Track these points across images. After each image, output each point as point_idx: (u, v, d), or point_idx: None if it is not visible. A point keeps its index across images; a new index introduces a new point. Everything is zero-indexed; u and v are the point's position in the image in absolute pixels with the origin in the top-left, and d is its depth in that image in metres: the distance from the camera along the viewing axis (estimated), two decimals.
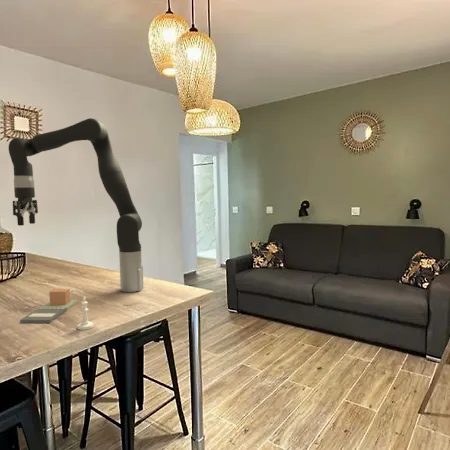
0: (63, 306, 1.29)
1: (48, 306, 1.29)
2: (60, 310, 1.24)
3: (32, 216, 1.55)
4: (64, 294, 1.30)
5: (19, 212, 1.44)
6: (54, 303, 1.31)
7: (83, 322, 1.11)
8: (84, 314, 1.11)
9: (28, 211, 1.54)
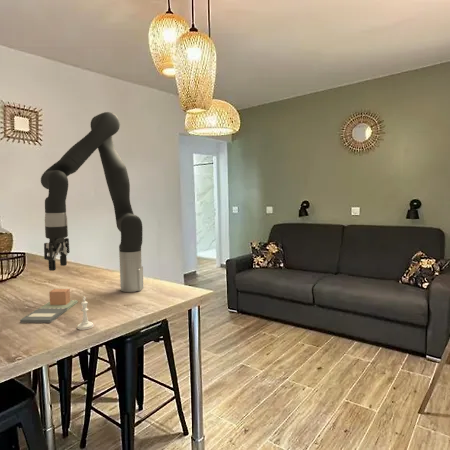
0: (63, 306, 1.29)
1: (48, 306, 1.29)
2: (60, 310, 1.24)
3: (63, 257, 1.35)
4: (64, 294, 1.30)
5: (51, 256, 1.24)
6: (54, 303, 1.31)
7: (83, 322, 1.11)
8: (84, 314, 1.11)
9: (59, 252, 1.34)
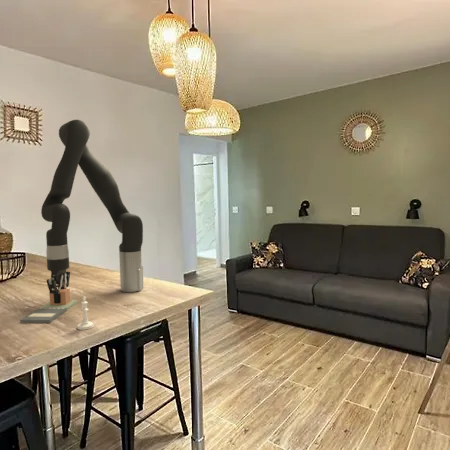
0: (63, 306, 1.29)
1: (48, 306, 1.29)
2: (60, 310, 1.24)
3: None
4: (64, 294, 1.30)
5: (56, 290, 1.28)
6: (54, 303, 1.31)
7: (83, 322, 1.11)
8: (84, 314, 1.11)
9: (59, 285, 1.34)
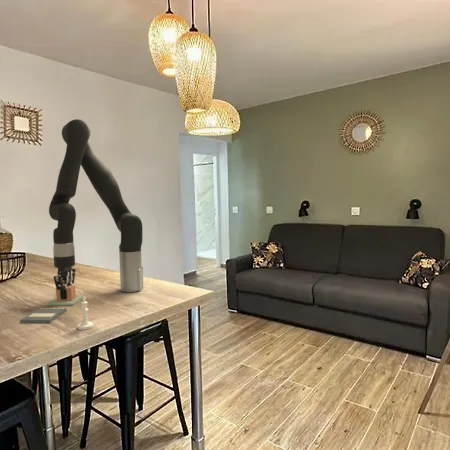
0: (69, 302, 1.34)
1: (55, 302, 1.34)
2: (60, 310, 1.24)
3: None
4: (70, 290, 1.35)
5: (63, 286, 1.32)
6: (60, 299, 1.36)
7: (83, 322, 1.11)
8: (84, 314, 1.11)
9: (65, 281, 1.38)
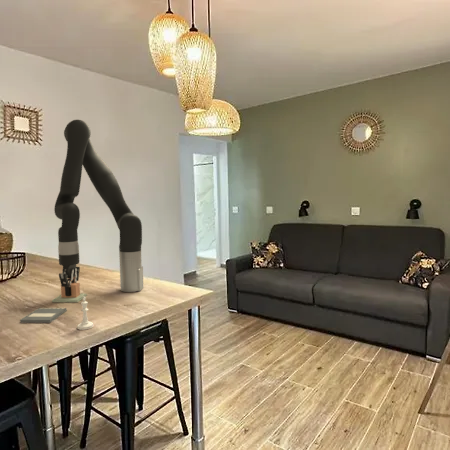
0: (74, 298, 1.38)
1: (60, 298, 1.38)
2: (60, 310, 1.24)
3: None
4: (74, 287, 1.39)
5: (68, 283, 1.36)
6: (65, 296, 1.40)
7: (83, 322, 1.11)
8: (84, 314, 1.11)
9: (69, 279, 1.42)
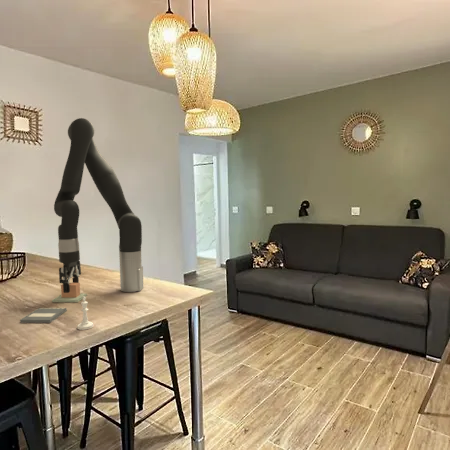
0: (74, 298, 1.38)
1: (60, 298, 1.38)
2: (60, 310, 1.24)
3: (76, 279, 1.45)
4: (75, 287, 1.39)
5: (66, 280, 1.34)
6: (65, 296, 1.40)
7: (83, 322, 1.11)
8: (84, 314, 1.11)
9: (72, 274, 1.44)
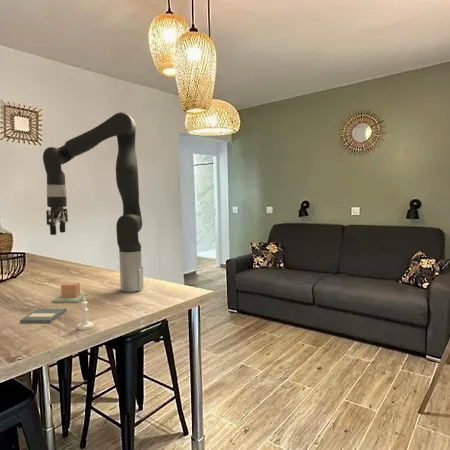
0: (74, 298, 1.38)
1: (60, 298, 1.38)
2: (60, 310, 1.24)
3: (63, 225, 1.54)
4: (75, 287, 1.39)
5: (53, 222, 1.43)
6: (65, 296, 1.40)
7: (83, 322, 1.11)
8: (84, 314, 1.11)
9: (59, 220, 1.53)
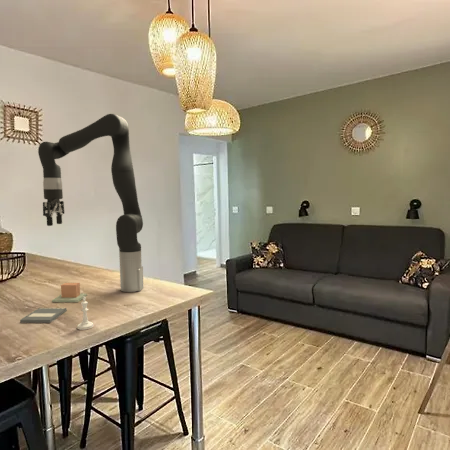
0: (74, 298, 1.38)
1: (60, 298, 1.38)
2: (60, 310, 1.24)
3: (59, 217, 1.60)
4: (75, 287, 1.39)
5: (49, 213, 1.49)
6: (65, 296, 1.40)
7: (83, 322, 1.11)
8: (84, 314, 1.11)
9: (56, 212, 1.59)
